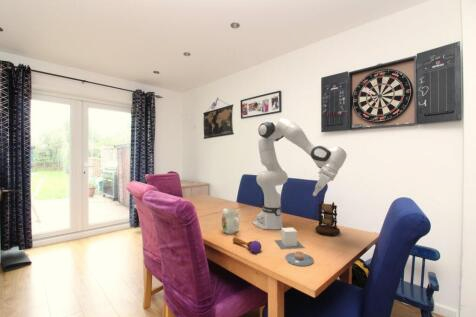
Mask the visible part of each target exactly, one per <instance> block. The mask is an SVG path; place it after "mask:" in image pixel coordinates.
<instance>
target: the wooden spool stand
mask: <svg viewBox="0 0 476 317" xmlns="http://www.w3.org/2000/svg"><path fill="white" fill-rule="evenodd" d="M317 205H318V211H317V214H318V224H317V225H316V226H315V228H314V230H315V231H316V233H317V234H319V233H320V234H324V235H332V236H333V237H335V235H339V234H340V233H341V229H340V228H338V226H337V224H338V223H337V222H338V221H337V219H338V218H337V217H338V210H337V208H338V205H337V204H335V202H334V201H332V203H324V200H322V201H321V202H320V203H318V204H317ZM322 214H323V215H322Z"/></svg>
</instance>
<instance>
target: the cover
mask: <svg viewBox="0 0 476 317" xmlns="http://www.w3.org/2000/svg"><path fill="white" fill-rule="evenodd" d="M280 232H281V237H280V238H281V239H280V240H281V242H282V243H283V245H284V246H285V247H290V246H297V241H298V231H297V229H295V228H294V227H283V228H281V230H280Z"/></svg>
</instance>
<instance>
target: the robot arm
mask: <svg viewBox="0 0 476 317" xmlns="http://www.w3.org/2000/svg"><path fill="white" fill-rule="evenodd" d="M257 130H258V135H259V136H260V138H259V139H258V152H259V158H260V162H261V164H262V165H263V166H264V167H265V168H266V170H263V171H261V172H258V173H257V175H256V179H255V180H256V183H257V185H258V186H260V187H261V188H260V189H262V192H263V199H264V200H263V201H264V202H263V203H264V205H262V206H261V209H262V211H260V212H258V213H257V214H256V217H255V220H253V221H252V225H255V226H256V227H258V228H260V229H262V230H280V229H281V228H284V226H283V219H282V206H281V204H282V203H281V201H282V200H281V194H280V192H278V191H277V188H276V187H277V186H278V187H279V186H282V185H284V184H286V183H287V182H288V178H289V177H288V174H287V172H286V171H285V170H283V169H282V166H281V165H280V163H279V162H278V158H277V153H276V148H275V144H274V143H275V142H279V141H280V140H281V139H282V138H285V139H286V140H287V141H289V142H291V143H292V144H294V145H295V146H297V147H298V148H300V149H301V150H303V151H304V152H305V153H306V154H307V155H309V156H310V158H311V159H312V161H313V162H314V163H315V165H316V167H317V168H319V170H318V172H317V173H318V180H317V182H316V184H315V187H314V191H313V193H312V194H311V195H312V196H313V197H316V196H317V195H318V194H319V193H320V191H322V190H323V189H324V187H325V186H326V185H327V184H328V183H330V182H331V181H332V182H333V181H334V179H335V178H336V177H337V175H338V173H339V171H340V169H341V168H342V167H343V165H344V163H345V162H346V159H347V156H348V154H347V152H346V151H345V150H344V149H343V148H342V147H340V146H338V145H337V146H336V145H335V146H331V147H330V146H329V147H328V146H323V145H316V146H315V145H314V144H312V142H311V141H310V140H309V139H308V137H307V135H306V134H305V133H306V132H304V131H303V129H302V128H301V127H300V125H298V124H297V123H296V122H294V121H293V120H291V119H289V118H288V117H281V118H279V119H278V120H277V122H270V121H266V122H262V123H260V125H259V126H258V128H257Z"/></svg>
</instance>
